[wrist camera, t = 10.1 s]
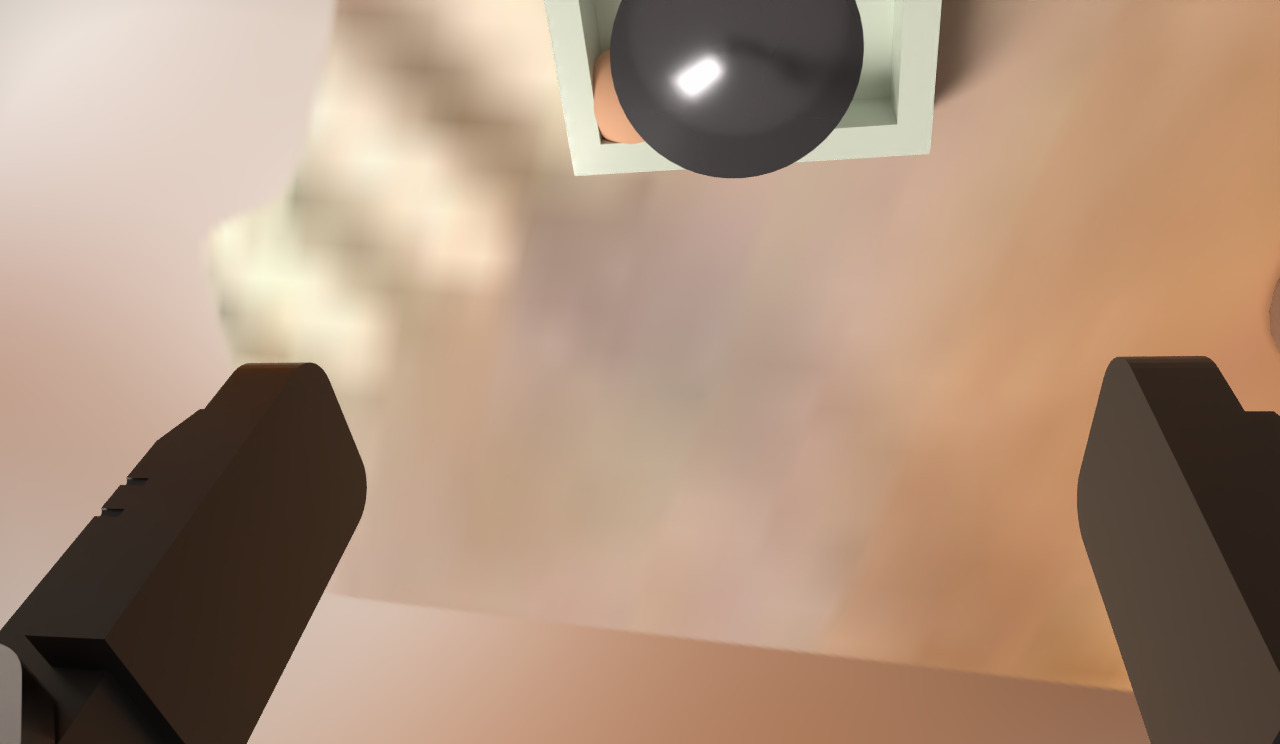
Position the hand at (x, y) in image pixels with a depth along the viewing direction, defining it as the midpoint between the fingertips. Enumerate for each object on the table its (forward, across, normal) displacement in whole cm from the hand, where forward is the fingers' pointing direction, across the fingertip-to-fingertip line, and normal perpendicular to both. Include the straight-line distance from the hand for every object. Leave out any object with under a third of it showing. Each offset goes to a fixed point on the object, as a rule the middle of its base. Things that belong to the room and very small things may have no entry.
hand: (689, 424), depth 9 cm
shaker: (+21, 0, 0) cm, 21 cm away
